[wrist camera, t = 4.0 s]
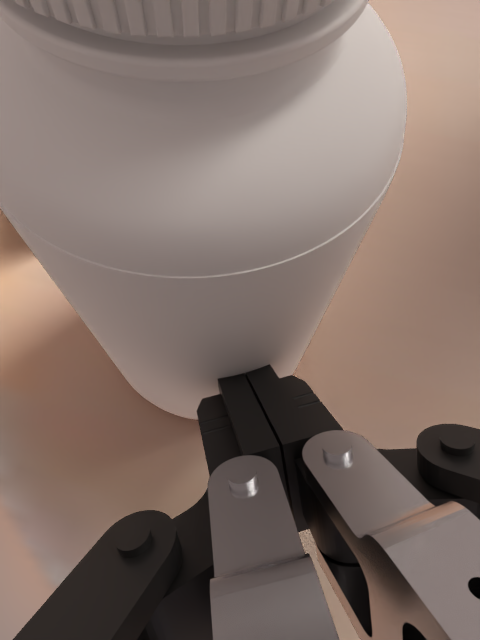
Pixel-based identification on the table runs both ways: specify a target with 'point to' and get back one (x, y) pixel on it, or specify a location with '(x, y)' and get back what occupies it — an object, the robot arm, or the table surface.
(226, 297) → the pill bottle
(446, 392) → the table surface
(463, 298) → the table surface
